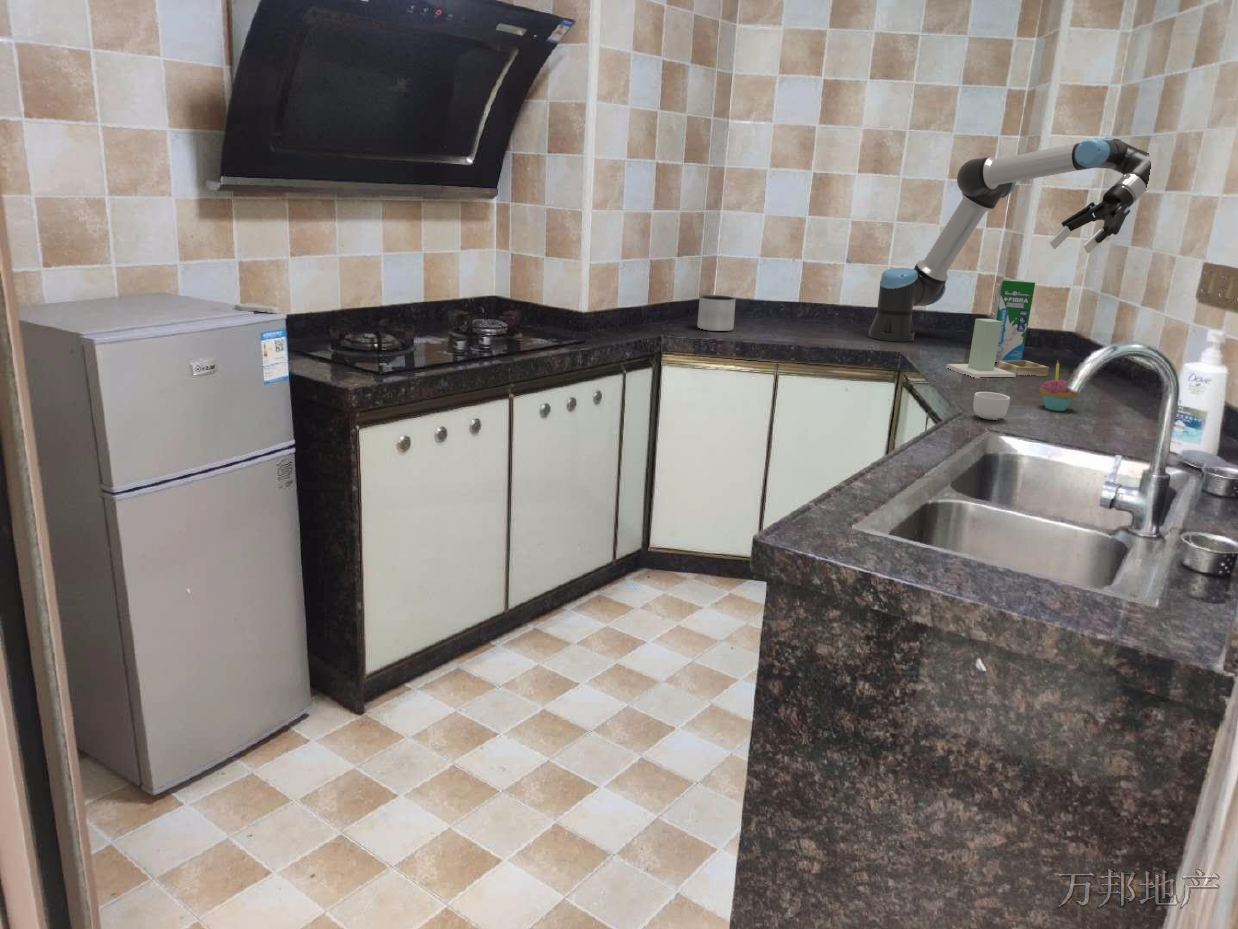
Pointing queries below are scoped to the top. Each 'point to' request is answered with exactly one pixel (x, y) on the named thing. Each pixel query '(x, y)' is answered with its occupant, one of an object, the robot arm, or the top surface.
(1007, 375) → the trivet
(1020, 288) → the milk carton
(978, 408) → the teacup
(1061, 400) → the cupcake
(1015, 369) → the holder
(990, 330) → the post
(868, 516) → the top surface
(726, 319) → the planter
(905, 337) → the robot arm
